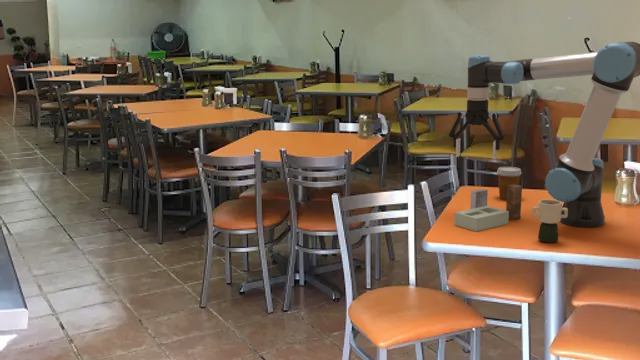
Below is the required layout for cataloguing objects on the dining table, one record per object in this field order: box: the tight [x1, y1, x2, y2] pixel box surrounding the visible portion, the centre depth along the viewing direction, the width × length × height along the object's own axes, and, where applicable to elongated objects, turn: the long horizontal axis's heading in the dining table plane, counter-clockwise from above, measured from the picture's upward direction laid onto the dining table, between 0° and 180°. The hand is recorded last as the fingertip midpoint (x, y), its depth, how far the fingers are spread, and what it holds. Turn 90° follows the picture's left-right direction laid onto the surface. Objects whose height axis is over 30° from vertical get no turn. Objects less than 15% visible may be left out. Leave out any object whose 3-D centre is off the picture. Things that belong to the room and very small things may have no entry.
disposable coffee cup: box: [496, 166, 522, 201], centre depth 289 cm, size 10×10×12 cm
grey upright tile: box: [470, 188, 489, 209], centre depth 266 cm, size 2×6×9 cm, turn 124°
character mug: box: [531, 198, 568, 243], centre depth 234 cm, size 11×7×13 cm, turn 77°
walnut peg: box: [505, 184, 523, 221], centre depth 260 cm, size 4×4×12 cm
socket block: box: [454, 205, 510, 232], centre depth 254 cm, size 10×16×4 cm, turn 124°
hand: (476, 157), depth 265 cm, fingers open, 13 cm apart
